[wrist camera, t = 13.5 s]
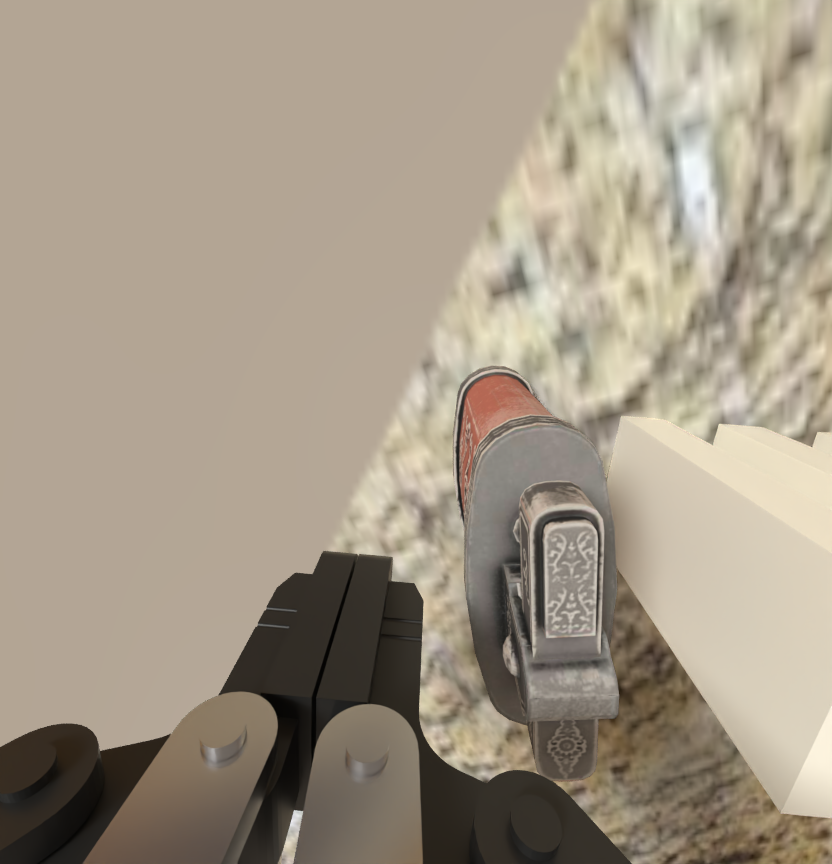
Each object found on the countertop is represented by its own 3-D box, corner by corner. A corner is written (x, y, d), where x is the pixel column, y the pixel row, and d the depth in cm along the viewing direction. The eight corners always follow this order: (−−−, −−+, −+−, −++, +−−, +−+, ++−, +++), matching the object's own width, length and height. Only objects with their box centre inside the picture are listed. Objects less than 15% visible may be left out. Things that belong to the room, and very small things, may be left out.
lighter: (542, 555, 18) (660, 844, 9) (460, 560, 18) (488, 847, 9) (538, 361, 16) (698, 465, 6) (444, 370, 16) (460, 482, 6)
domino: (664, 419, 16) (992, 598, 7) (634, 537, 18) (866, 821, 8) (621, 415, 16) (886, 588, 7) (594, 534, 18) (780, 813, 8)
